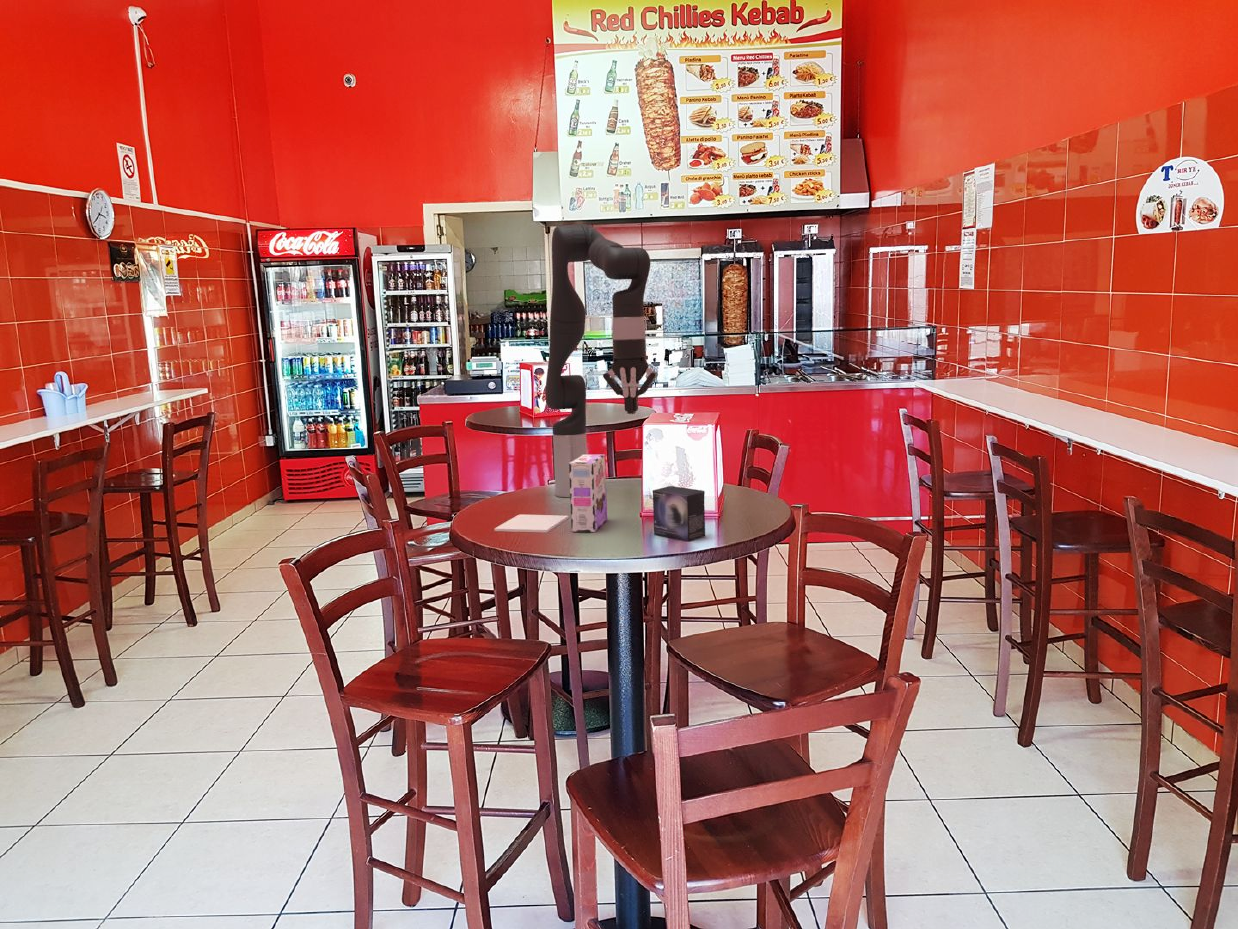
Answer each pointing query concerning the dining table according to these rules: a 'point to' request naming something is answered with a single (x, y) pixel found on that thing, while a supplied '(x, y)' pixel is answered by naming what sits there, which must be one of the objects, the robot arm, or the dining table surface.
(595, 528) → the candy box
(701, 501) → the small box
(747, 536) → the dining table surface
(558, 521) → the mat
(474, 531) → the dining table surface
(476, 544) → the dining table surface
